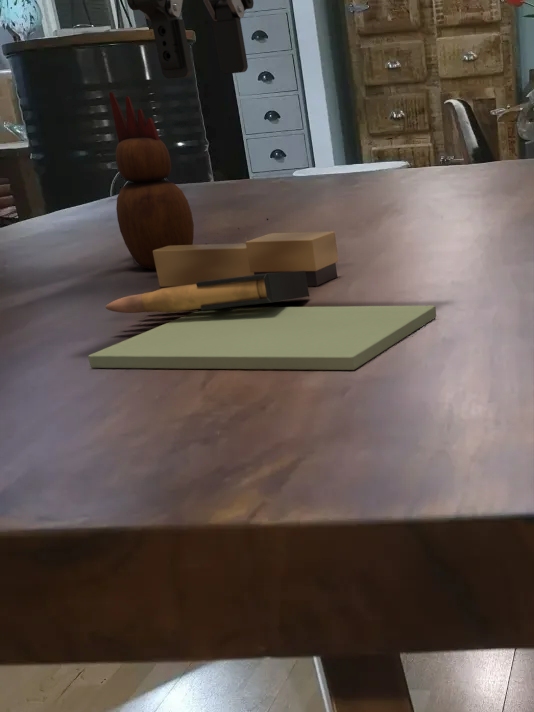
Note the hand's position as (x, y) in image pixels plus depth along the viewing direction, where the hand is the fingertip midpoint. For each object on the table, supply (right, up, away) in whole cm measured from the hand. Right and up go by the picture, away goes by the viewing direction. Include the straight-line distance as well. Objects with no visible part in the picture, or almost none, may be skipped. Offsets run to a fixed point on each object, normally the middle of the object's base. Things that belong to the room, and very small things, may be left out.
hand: (207, 75), depth 86 cm
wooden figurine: (-9, -9, +19) cm, 23 cm away
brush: (+1, -14, +7) cm, 16 cm away
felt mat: (+8, -25, -14) cm, 29 cm away
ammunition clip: (+8, -19, -7) cm, 21 cm away
